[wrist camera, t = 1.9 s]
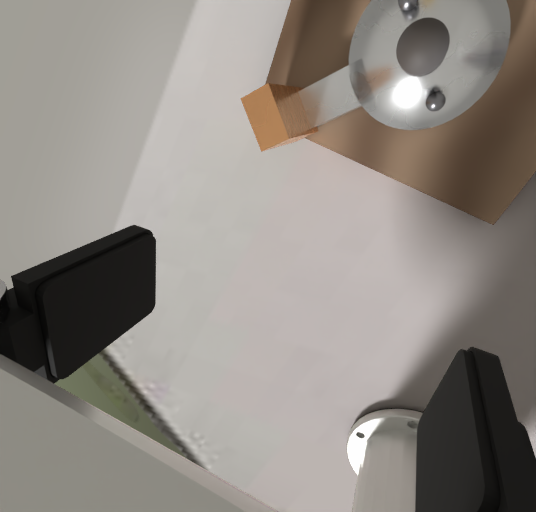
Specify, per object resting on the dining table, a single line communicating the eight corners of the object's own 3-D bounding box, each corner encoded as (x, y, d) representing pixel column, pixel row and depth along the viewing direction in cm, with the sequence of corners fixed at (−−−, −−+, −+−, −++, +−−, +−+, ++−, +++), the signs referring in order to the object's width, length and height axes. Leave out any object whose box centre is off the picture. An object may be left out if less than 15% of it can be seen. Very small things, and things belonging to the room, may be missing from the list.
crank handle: (485, -69, 17) (512, -145, 12) (518, 92, 19) (555, 88, 14) (267, 63, 23) (222, 51, 18) (308, 174, 25) (277, 192, 20)
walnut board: (683, -32, 16) (787, -88, 12) (489, 218, 23) (506, 247, 19) (342, -131, 19) (316, -205, 15) (263, 114, 27) (230, 116, 22)
